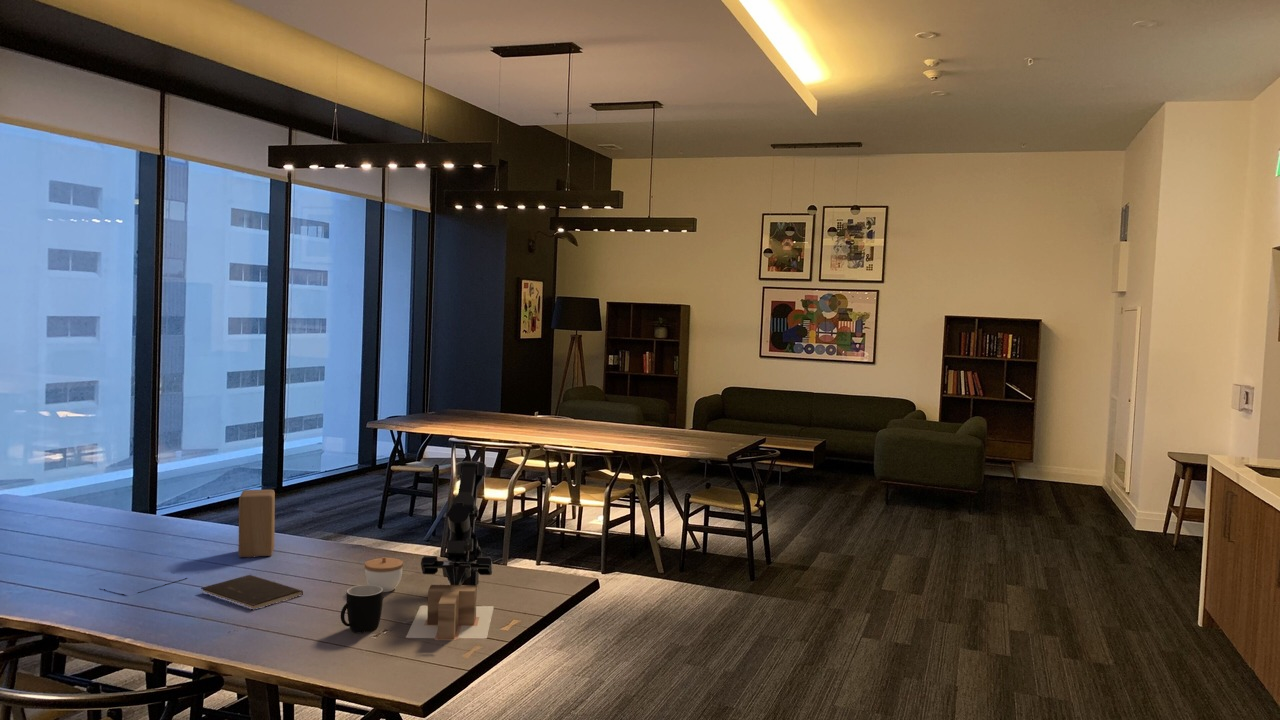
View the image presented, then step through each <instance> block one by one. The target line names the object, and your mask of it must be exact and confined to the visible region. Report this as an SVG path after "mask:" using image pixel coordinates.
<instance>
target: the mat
mask: <svg viewBox="0 0 1280 720" xmlns="http://www.w3.org/2000/svg"><path fill="white" fill-rule="evenodd" d="M494 607H495V606H493V605H490V606H489V605H488V606H485V605H476V620H475V623H474V625H458V628H457V631H456V634H455V637H454V639H438V625H427V617H428V605H420V606H419V608H418V611H417V613H416V614H415V617H414V619H413V622H412V623H411V626H410V628H409V630H408V632H407V635H405V638H406V639H434V641H458V639H487V638H488V634H489V629H490V625H491V623H492V622H491V620H492V617H493V613H494Z"/></svg>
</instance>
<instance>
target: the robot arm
mask: <svg viewBox="0 0 1280 720" xmlns="http://www.w3.org/2000/svg"><path fill="white" fill-rule="evenodd" d="M456 476H457V477H459V486H458V493H457V495H455V496H454V497H453V498H452V500H451V501H452V502H451V505H449V506H448V508H447V512H446V517H447V520H448V528H449V531H450V532H449V533H450V534H449V540H447V541H446V550H445V551H446V552H445V559H443V560H438V555H424V556H422V558H421V559H420V567H421V572H422V574H423V575H436V574H437V573H439V571H438V570H439V569H441V570H442V576H443V577H444V578H447V580H448V582H449V585H477V586H478V584H479V583H480V581H479V575H480V576H491V575H492V574H493V558H492V557H491V556H483V553H482V552H483V551H482V550H481V547H480V546H479V543H478V538H477V535H476V533H475V524H476V520H477V518H478V517H479V515H480V514H479V512H480V511H479V509H478V506H477V500H478V491H479V490H480V488H481V487H482V486H483V484H484V479H485V477H487V465H486V464H485V463H483V461H478V460H477V461H476V460H475V461H473V460H462V462H460V463H457V473H456Z"/></svg>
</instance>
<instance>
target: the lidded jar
mask: <svg viewBox="0 0 1280 720" xmlns="http://www.w3.org/2000/svg"><path fill="white" fill-rule="evenodd" d="M403 566H404V561H403V560H402V559H399V558H393V557H386V556H383V557H379V558H373V559H370V560H367V561H366V562H364V575H365V580H366V582H367V585H376V586H380V587H381V588H382V589H383V593H389V592H392V591H394V590H395V588H396V587H397V586H398V585H399V584H400V582H401V581H402V580H401V579H402V576H403Z"/></svg>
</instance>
